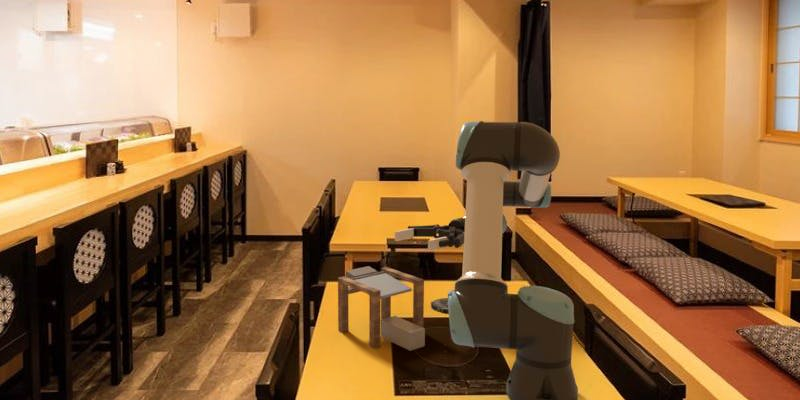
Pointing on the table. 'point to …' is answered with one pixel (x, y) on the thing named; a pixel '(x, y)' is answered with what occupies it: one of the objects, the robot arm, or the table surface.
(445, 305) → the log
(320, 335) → the table surface
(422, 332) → the granite block
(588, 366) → the table surface
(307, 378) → the table surface
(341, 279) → the trapdoor frame
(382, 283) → the flap
